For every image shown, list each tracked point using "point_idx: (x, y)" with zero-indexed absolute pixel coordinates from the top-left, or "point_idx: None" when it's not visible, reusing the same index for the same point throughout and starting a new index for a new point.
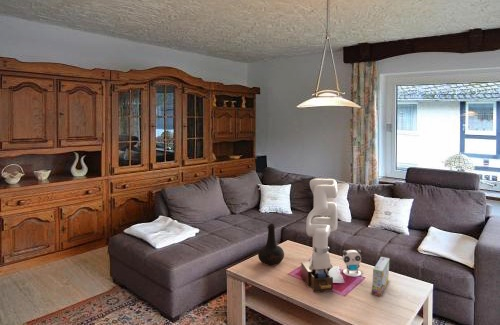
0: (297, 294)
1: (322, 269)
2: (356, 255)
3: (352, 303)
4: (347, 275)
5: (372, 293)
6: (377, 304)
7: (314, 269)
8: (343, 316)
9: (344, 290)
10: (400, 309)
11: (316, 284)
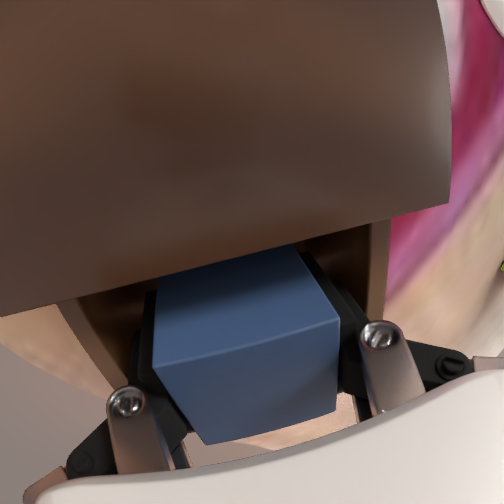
0: (27, 329)
1: (346, 172)
2: None
3: None
4: (486, 12)
5: (502, 270)
6: (462, 344)
7: (123, 460)
8: (293, 445)
9: (413, 238)
10: (491, 349)
11: None
